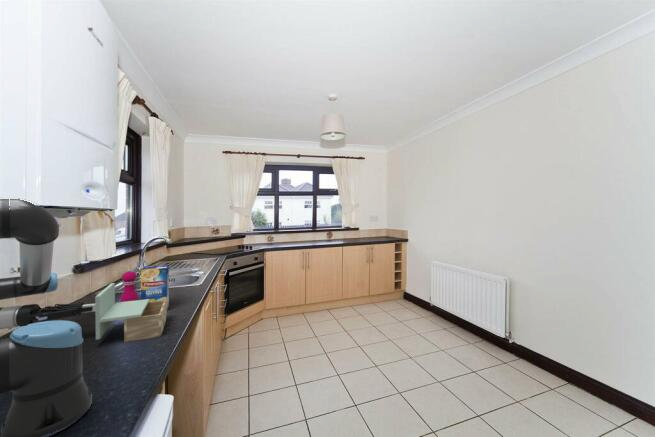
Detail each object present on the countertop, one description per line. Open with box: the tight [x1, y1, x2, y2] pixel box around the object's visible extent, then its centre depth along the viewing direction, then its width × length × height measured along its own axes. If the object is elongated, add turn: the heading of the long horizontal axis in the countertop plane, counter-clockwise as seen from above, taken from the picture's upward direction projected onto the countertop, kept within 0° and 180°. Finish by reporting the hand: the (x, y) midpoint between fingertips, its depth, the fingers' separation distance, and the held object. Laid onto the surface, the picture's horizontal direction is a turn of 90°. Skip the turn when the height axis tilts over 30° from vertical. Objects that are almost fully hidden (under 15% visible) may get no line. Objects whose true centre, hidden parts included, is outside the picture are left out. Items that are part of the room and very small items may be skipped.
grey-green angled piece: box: [94, 282, 149, 340], centre depth 107 cm, size 19×14×16 cm
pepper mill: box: [119, 268, 139, 302], centre depth 134 cm, size 7×7×20 cm
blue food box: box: [140, 264, 170, 312], centre depth 131 cm, size 7×11×22 cm, turn 115°
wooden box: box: [123, 300, 167, 343], centre depth 110 cm, size 18×12×9 cm, turn 26°
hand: (104, 306), depth 104 cm, fingers closed
